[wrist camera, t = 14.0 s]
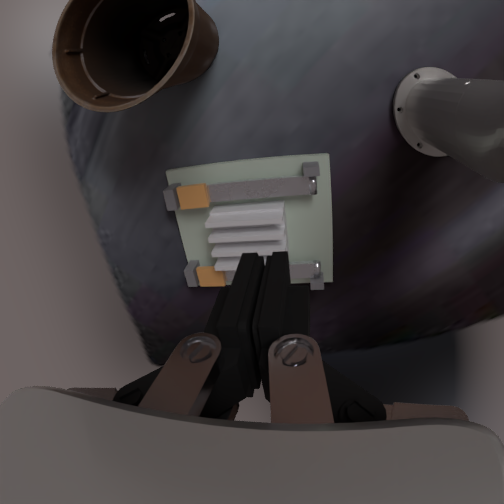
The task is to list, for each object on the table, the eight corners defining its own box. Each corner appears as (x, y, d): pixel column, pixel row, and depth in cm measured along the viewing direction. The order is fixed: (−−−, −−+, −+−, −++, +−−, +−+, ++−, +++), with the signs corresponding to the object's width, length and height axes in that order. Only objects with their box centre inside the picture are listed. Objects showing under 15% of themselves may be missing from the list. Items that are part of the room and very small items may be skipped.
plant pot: (153, 120, 40) (86, 142, 26) (110, 36, 34) (35, 30, 20) (254, 65, 35) (226, 52, 21) (203, -24, 28) (153, -68, 15)
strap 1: (315, 171, 39) (316, 174, 37) (317, 194, 40) (318, 198, 39) (180, 184, 42) (176, 188, 41) (185, 205, 44) (181, 209, 42)
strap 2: (320, 257, 45) (321, 263, 44) (320, 275, 47) (321, 282, 45) (199, 263, 48) (196, 269, 47) (203, 280, 50) (200, 286, 48)
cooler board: (328, 153, 39) (332, 164, 34) (332, 278, 49) (334, 303, 43) (168, 169, 44) (149, 183, 38) (196, 281, 53) (184, 305, 48)
